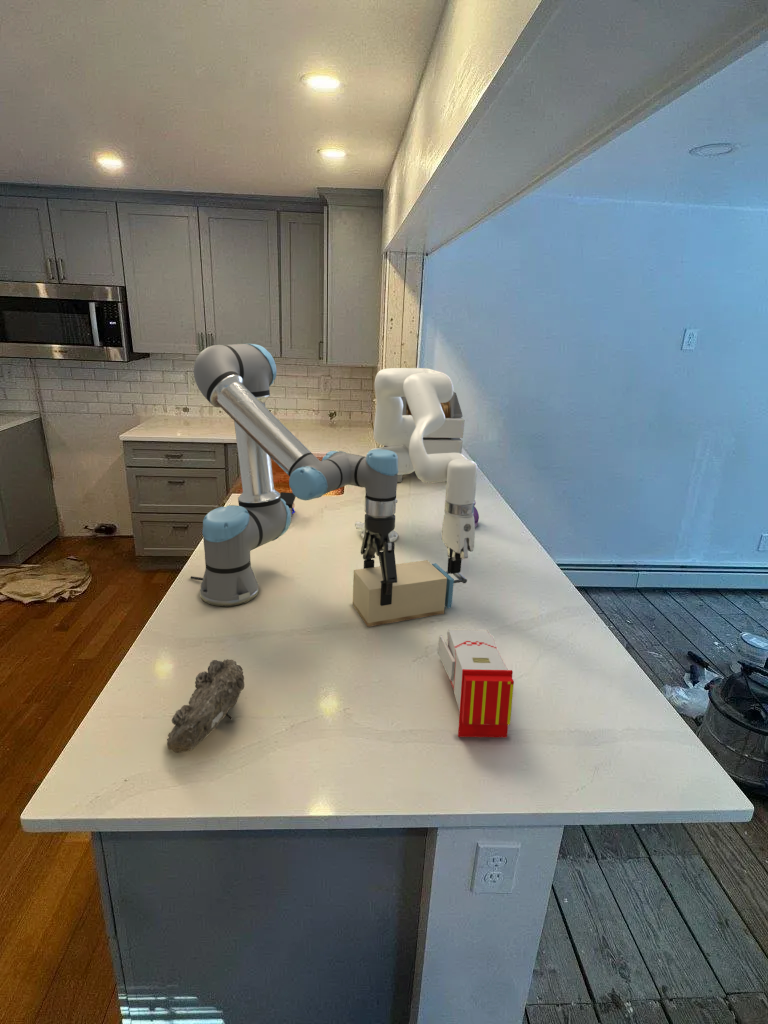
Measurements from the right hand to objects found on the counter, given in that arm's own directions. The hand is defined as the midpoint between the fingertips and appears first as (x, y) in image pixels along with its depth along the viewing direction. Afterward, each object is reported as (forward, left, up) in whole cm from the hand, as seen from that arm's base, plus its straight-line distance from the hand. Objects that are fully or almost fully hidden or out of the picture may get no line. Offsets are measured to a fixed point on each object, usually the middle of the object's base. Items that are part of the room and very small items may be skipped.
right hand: (453, 571), depth 152 cm
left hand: (-17, -14, -3) cm, 22 cm away
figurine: (-5, +60, -9) cm, 60 cm away
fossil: (-35, -62, -9) cm, 72 cm away
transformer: (-38, +122, -9) cm, 128 cm away
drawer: (-8, -6, -8) cm, 13 cm away
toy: (+11, -38, -9) cm, 40 cm away
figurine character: (-70, +42, -9) cm, 82 cm away
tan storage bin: (-13, -10, -9) cm, 18 cm away
